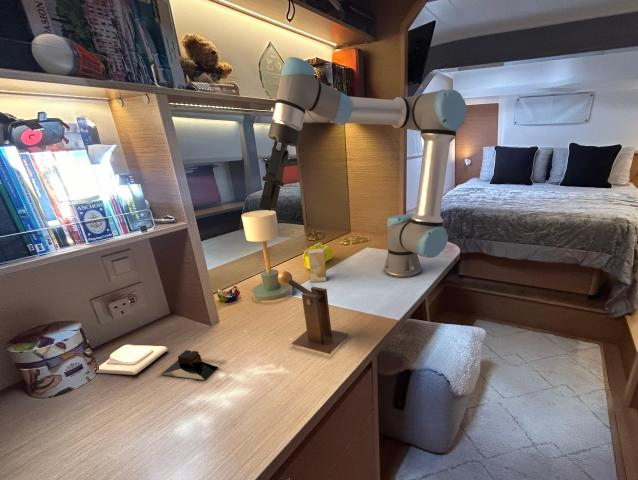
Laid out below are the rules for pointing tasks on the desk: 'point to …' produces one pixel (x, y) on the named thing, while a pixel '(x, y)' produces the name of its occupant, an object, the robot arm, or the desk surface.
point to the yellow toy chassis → (318, 246)
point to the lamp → (265, 253)
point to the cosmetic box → (317, 265)
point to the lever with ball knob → (295, 284)
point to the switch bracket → (318, 324)
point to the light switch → (131, 359)
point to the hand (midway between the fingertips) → (268, 208)
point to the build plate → (190, 367)
